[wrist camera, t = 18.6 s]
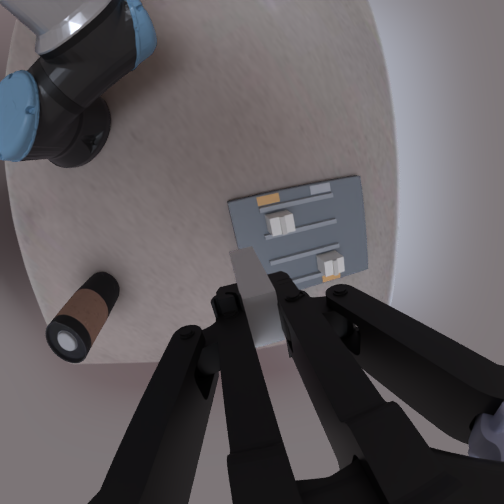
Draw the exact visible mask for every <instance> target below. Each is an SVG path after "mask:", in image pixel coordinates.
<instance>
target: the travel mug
mask: <svg viewBox="0 0 504 504" xmlns="http://www.w3.org/2000/svg"><path fill="white" fill-rule="evenodd" d="M118 296H119V285H118V283H117V281H116V280H115V278H114V277H113V276H111V275H110V274H108V273H105V272H98V273H96V274H94V275H93V276H92V277H90V278H89V279H88V280H87V281H86V282H85V283H84V284H83V285H82V286H81V287H80V288H79V289H78V290H77V291H76V292H75V293H74V295H73V296H72V297H71V298H70V299H69V300H68V302H67V303H66V304H65V305H64V306H63V308H62V309H61V310H60V311H59V313H58V314H57V315H56V316H55V318H54V319H53V320H52V321H51V323H50V324H49V325H48V326H47V328H46V340H47V343H48V345H49V346H50V348H51V349H52V351H53V352H54V353H55V354H56V355H57V356H58V357H60V358H61V359H63V360H65V361H67V362H70V363H79V362H82V361H83V360H84V359H85V358H86V356H87V354H88V352H89V350H90V348H91V347H92V345H93V343H94V341H95V339H96V337H97V336H98V334H99V332H100V330H101V329H102V327H103V325H104V323H105V322H106V320H107V318H108V316H109V314H110V312H111V310H112V308H113V306H114V304H115V302H116V300H117V298H118Z"/></svg>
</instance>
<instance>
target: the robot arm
mask: <svg viewBox="0 0 504 504" xmlns="http://www.w3.org/2000/svg"><path fill="white" fill-rule="evenodd" d="M0 4H1V5H2V6H3V7H4V8H6V9H7V10H8V11H9V12H10V13H11V14H13V15H14V16H15V17H16V18H17V19H18V20H20V21H21V22H22V23H23V24H24V25H25V26H27V27H28V28H29V29H30V30H31V31H32V32H33V33H35V34H36V36H37V37H36V44H35V52H36V53H37V54H38V55H40V57H39V59H38V60H37V61H36V62H35V63H34V64H33V65H32V66H31V67H30V68H29V69H28V70H27V71H25V70H20V71H16V72H14V73H13V74H12V73H11V74H9V75H7V76H6V77H5V78H4V79H3V80H2V81H1V82H0V160H7V161H12V162H18V161H26V160H38V159H48V160H49V161H51V162H52V163H53V164H55V165H57V166H59V167H63V168H73V167H79V166H82V165H84V164H86V163H88V162H89V161H91V160H92V159H93V158H94V157H95V156H96V155H97V154H98V153H99V152H100V150H101V149H102V147H103V146H104V144H105V142H106V140H107V137H108V134H109V130H110V112H109V109H108V106H107V104H106V103H105V101H104V100H103V99H102V98H101V97H100V96H101V95H102V94H103V93H104V92H105V91H106V90H107V89H109V88H110V87H111V86H112V85H113V84H115V83H116V82H117V81H118V80H120V79H121V78H122V77H123V76H125V75H126V74H127V73H128V72H130V71H133V70H134V69H136V67H137V66H138V65H139V64H140V63H141V62H143V61H144V60H145V59H146V58H148V57H149V56H150V55H151V54H152V53H153V52H154V50H155V48H156V45H157V38H156V33H155V30H154V27H153V24H152V22H151V19H150V17H149V15H148V13H147V11H146V10H145V9H144V8H143V6H142V3H141V1H140V0H0ZM229 253H230V257H231V261H232V265H233V269H234V273H235V277H236V281H237V283H235V284H231V285H227V286H223V287H220V288H219V289H218V291H217V292H216V296H214V297H213V298H212V300H211V305H212V308H213V311H214V314H215V317H216V322H215V323H214V324H213V325H211V326H210V327H208V328H206V329H203V330H202V329H201V328H200V327H199V326H197V325H188V326H184V327H181V328H180V329H178V330H177V331H176V332H175V333H174V334H173V336H172V338H171V340H170V342H169V344H168V346H167V348H166V350H165V352H164V354H163V356H162V358H161V360H160V362H159V364H158V366H157V368H156V370H155V372H154V374H153V376H152V378H151V380H150V382H149V384H148V386H147V389H146V390H145V392H144V394H143V397H142V399H141V401H140V403H139V405H138V407H137V409H136V411H135V414H134V415H133V418H132V420H131V422H130V424H129V426H128V428H127V430H126V433H125V435H124V437H123V439H122V441H121V444H120V446H119V448H118V450H117V452H116V455H115V457H114V459H113V461H112V464H111V466H110V468H109V471H108V473H107V475H106V478H105V480H104V482H103V485H102V487H101V490H100V491H99V492H98V493H97V495H95V496H94V497H93V498H92V500H91V501H90V502H89V503H88V504H188V502H189V498H190V493H191V489H192V485H193V481H194V477H195V472H196V468H197V464H198V460H199V456H200V452H201V447H202V443H203V439H204V435H205V431H206V427H207V423H208V418H209V414H210V410H211V406H212V402H213V397H214V394H215V389H216V385H217V381H218V377H219V372H218V371H220V370H221V379H222V389H223V397H224V406H225V414H226V423H227V430H228V438H229V445H230V454H229V455H228V456H227V467H228V475H229V482H230V488H231V494H232V501H233V504H504V366H502V365H497V364H496V363H494V362H492V361H490V360H488V359H487V358H485V357H483V356H481V355H479V354H477V353H476V352H474V351H472V350H470V349H469V348H467V347H465V346H463V345H461V344H459V343H458V342H456V341H454V340H452V339H450V338H448V337H446V336H445V335H443V334H441V333H439V332H437V331H435V330H434V329H432V328H430V327H428V326H426V325H424V324H422V323H421V322H419V321H417V320H415V319H413V318H411V317H409V316H407V315H406V314H404V313H402V312H400V311H398V310H396V309H394V308H392V307H390V306H389V305H387V304H385V303H383V302H381V301H379V300H377V299H375V298H373V297H371V296H369V295H368V294H366V293H364V292H362V291H360V290H358V289H356V288H354V287H352V286H350V285H346V284H339V285H338V284H337V285H334V286H331V287H330V288H328V289H327V290H326V296H324V297H310V296H309V295H308V294H307V293H306V292H305V291H302V290H299V289H298V288H297V286H296V285H295V283H294V282H293V281H292V279H291V278H290V276H289V275H288V274H287V273H285V272H283V271H278V272H275V273H271V274H266V272H265V270H264V268H263V266H262V264H261V262H260V260H259V259H258V257H257V255H256V253H255V251H254V249H253V247H252V246H250V247H246V248H242V249H238V250H234V251H230V252H229ZM356 326H357V327H356ZM284 334H285V337H286V341H287V346H288V352H289V357H292V358H293V360H294V362H295V364H296V367H297V369H298V371H299V374H300V376H301V378H302V380H303V383H304V385H305V387H306V390H307V392H308V394H309V397H310V399H311V401H312V403H313V406H314V408H315V410H316V412H317V415H318V417H319V419H320V421H321V424H322V426H323V428H324V431H325V433H326V435H327V437H328V440H329V442H330V444H331V446H332V449H333V451H334V453H335V455H336V457H337V460H338V464H339V468H340V471H338V472H337V473H335V474H333V475H332V476H330V477H326V478H319V479H309V480H299V481H298V480H297V481H295V478H294V475H293V472H292V469H291V466H290V463H289V459H288V456H287V453H286V450H285V447H284V443H283V440H282V437H281V434H280V431H279V427H278V424H277V421H276V417H275V414H274V411H273V407H272V404H271V401H270V397H269V394H268V391H267V387H266V383H265V380H264V376H263V373H262V370H261V366H260V362H259V359H258V355H257V352H256V348H257V347H261V346H264V345H268V344H272V343H275V342H279V341H282V340H285V337H284ZM362 369H364V370H365V371H366V372H367V373H368V374H370V375H371V376H372V377H373V378H375V379H376V380H377V381H378V382H380V383H381V384H382V385H383V386H385V387H386V388H387V389H389V390H390V391H391V392H393V393H394V394H395V395H396V396H397V397H399V398H400V399H402V401H404V402H405V403H406V404H408V405H409V406H410V407H411V408H413V409H414V410H415V411H417V412H418V413H419V414H421V415H422V416H424V418H426V419H427V420H428V421H430V422H431V423H432V424H434V425H435V426H436V427H438V428H439V429H440V430H442V431H443V432H444V433H446V434H447V435H449V436H451V437H452V438H454V439H456V440H459V441H461V442H463V443H466V444H469V451H468V454H469V456H465V455H460V454H456V453H451V452H446V451H442V450H438V449H435V448H431V447H429V446H428V445H427V443H426V442H425V440H424V439H423V438H422V436H421V435H420V433H419V432H418V430H417V429H416V428H415V426H414V425H413V423H412V422H411V421H410V419H409V418H408V417H407V415H406V414H405V412H404V411H403V410H402V408H401V407H400V406H399V405H398V404H397V403H396V402H394V401H391V402H386V401H385V400H384V399H383V398H382V397H381V395H380V394H379V392H378V391H377V390H376V388H375V387H374V385H373V384H372V382H371V381H370V380H369V378H368V377H367V375H366V374H365V372H364V371H363V370H362Z"/></svg>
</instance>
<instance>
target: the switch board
mask: <svg viewBox="0 0 504 504" xmlns="http://www.w3.org/2000/svg"><path fill="white" fill-rule="evenodd" d="M227 203H228V207H229V211H230V216H231V220H232V224H233V228H234V233H235V237H236V241H237V245H238V249H242V248H246V247H250V246H252V247H253V249H254V251H255V253H256V255H257V257H258V259H259V260H260V262H261V264H262V266H263V268H264V270H265V272H266V274H271V273H275V272H278V271H283V272H285V273H287V274H288V275H289V276H290V278H291V279H292V281H293V282H294V283H295V285H296V286H297V288H298V289H299V290H300V289H304V288H307V287H311V286H314V285H318V284H321V283H324V282H328V281H331V280H334V279H337V278H341V277H344V276H347V275H350V274H354V273H357V272H360V271H363V270H366V269H368V255H367V238H366V225H365V213H364V203H363V195H362V186H361V179H360V176H357V175H354V176H348V177H342V178H337V179H331V180H325V181H320V182H315V183H310V184H304V185H299V186H294V187H290V188H285V189H280V190H275V191H271V192H266V193H261V194H257V195H253V196H248V197H244V198H240V199H235V200H231V201H227ZM283 210H287V211H289V212H291V213H292V214H293V218H294V223H295V229H296V231H293V232H289V233H288V234H286V235H282V234H281V235H277V236H272V235H271V234H270V233H269V231H268V229H267V224H266V219H265V215H266V214H270V213H274V212H279V211H283ZM334 250H335V251H336V252H338V253H339V254H341V255H342V256H343V257H344V267H345V271H344V272H341V273H339V275H336V276H334V275H331V276H327V277H325V276H324V275H323V274H322V273H321V272H320V271H319V270H318V265H317V257H316V255H319V254H323V253H326V252H330V251H334Z"/></svg>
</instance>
